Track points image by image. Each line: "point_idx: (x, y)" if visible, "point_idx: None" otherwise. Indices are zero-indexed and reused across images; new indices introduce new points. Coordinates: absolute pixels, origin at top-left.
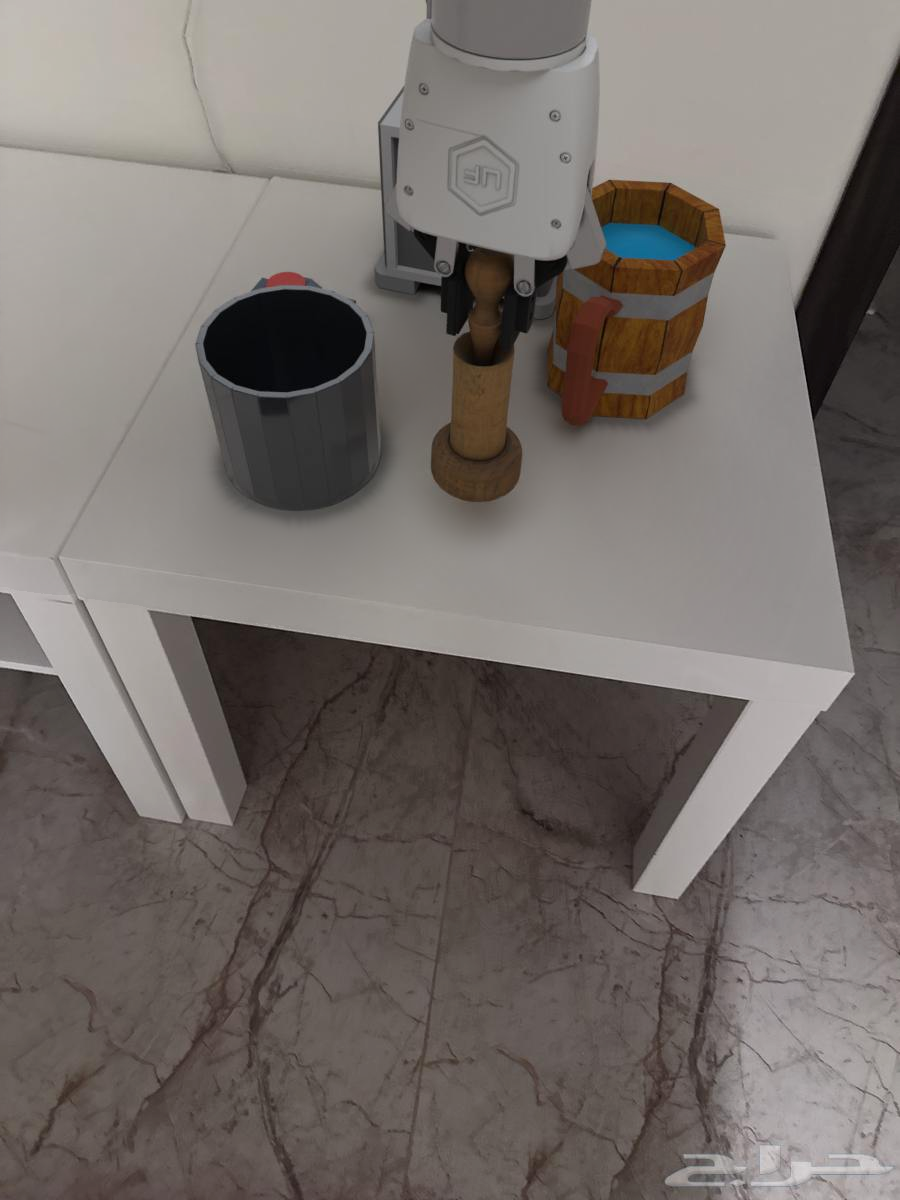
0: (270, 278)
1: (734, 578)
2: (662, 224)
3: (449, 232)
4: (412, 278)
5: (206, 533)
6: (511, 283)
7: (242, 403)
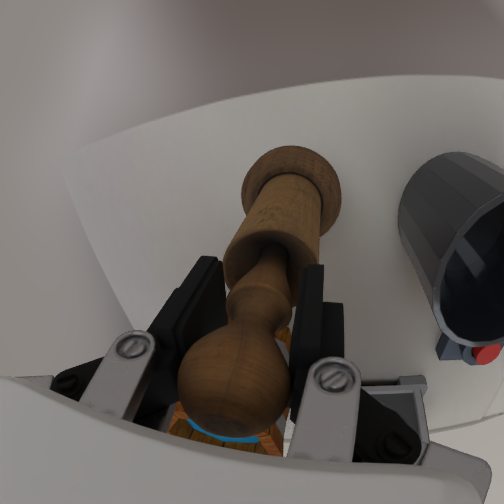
0: (498, 354)
1: (115, 196)
2: (220, 442)
3: (276, 490)
4: (402, 386)
5: (495, 116)
6: (173, 358)
7: None
